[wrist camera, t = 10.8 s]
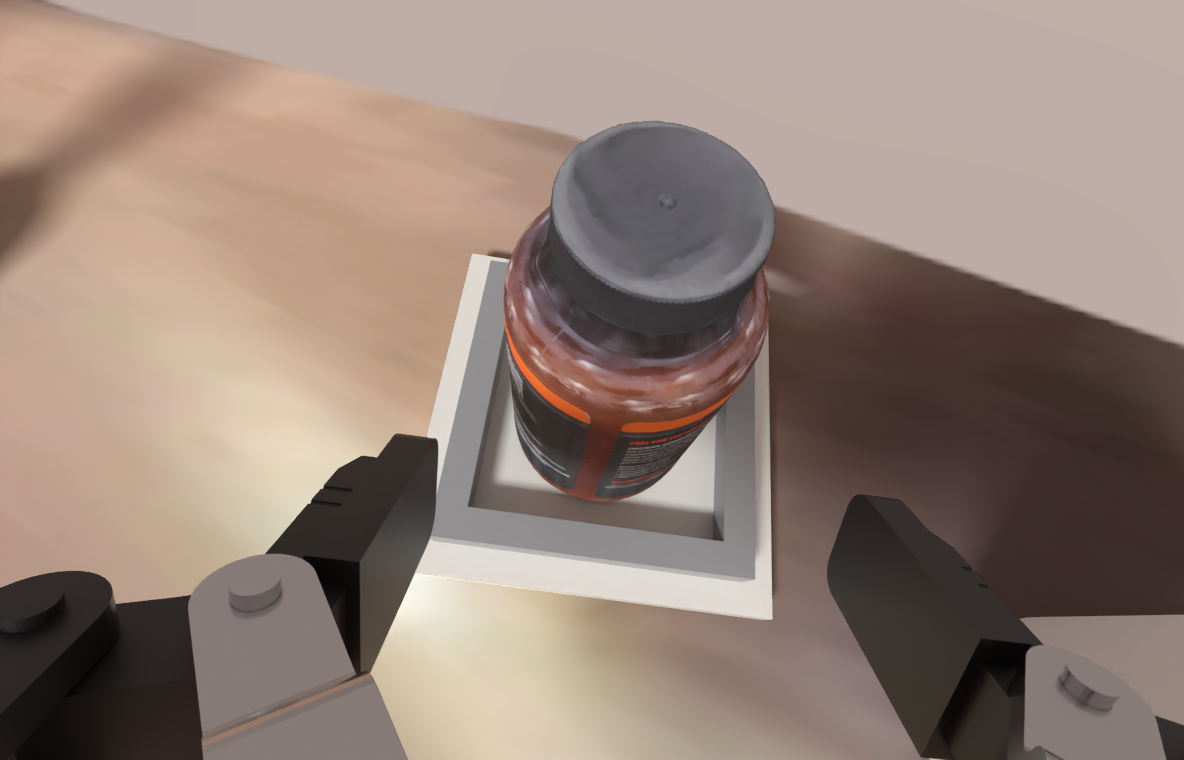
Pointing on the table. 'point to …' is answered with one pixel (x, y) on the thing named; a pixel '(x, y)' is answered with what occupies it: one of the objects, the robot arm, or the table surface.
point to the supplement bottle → (635, 305)
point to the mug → (1127, 652)
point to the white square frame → (584, 527)
